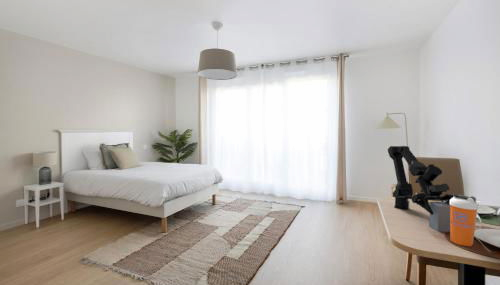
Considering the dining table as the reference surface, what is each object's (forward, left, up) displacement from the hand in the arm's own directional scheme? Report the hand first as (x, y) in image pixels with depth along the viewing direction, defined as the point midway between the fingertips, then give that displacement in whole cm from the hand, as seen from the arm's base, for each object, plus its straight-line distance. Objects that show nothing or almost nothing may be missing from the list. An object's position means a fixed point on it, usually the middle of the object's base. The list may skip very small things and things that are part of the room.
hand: (442, 214), depth 110 cm
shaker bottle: (+8, -9, -8) cm, 14 cm away
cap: (-1, +1, -8) cm, 8 cm away
